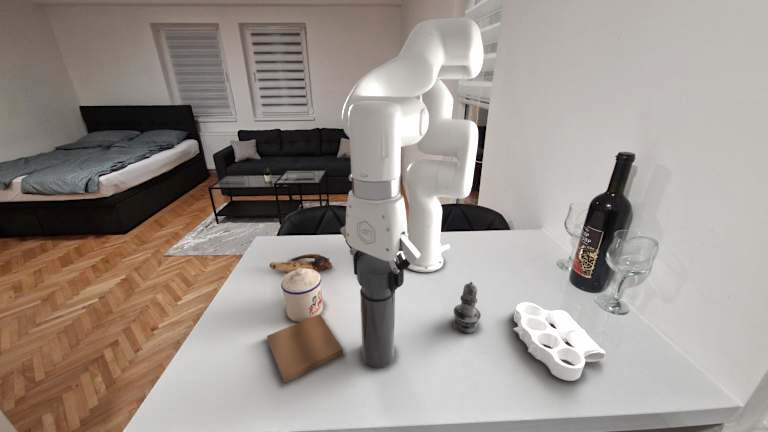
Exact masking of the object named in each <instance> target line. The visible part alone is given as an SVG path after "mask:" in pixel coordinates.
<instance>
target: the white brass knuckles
mask: <svg viewBox="0 0 768 432" xmlns="http://www.w3.org/2000/svg"><path fill="white" fill-rule="evenodd" d="M513 321H514V322H515V323H516V324H517V327H514V328H512V331H514V332H516V333H517V334H518V337H519V339H520V340H521V342H524V344H525V345H526V347H527V353H530V354H531V355H532V356H533V357H534V358H535V359H536V360H539V361H540V362H541V363H543V364H544V365H545V366H547V368H548V369H549V371H550V373H551V374H552V375H553V376H555V377H556V378H558V379H560V380H562V381H568V382H571V381H573V382H574V381H577V380H578V379H580V377H581V375H582V373H583V371H584V367H585V364H586V363H593V362H598V361H601V360H603V359H604V358H605V357H606V355H607V353H606V351H605V350H604V349H603V348H600V346H599V345H598V344H597V343H596V342H595V341H594V340H593V339H592V338H591V337H590V336H589V335H588V334H587V332H586V330H585V329H583V328H582V327H581V326H580V325H578V323H577V322H576V321H575V320H574V319H573V317H571V316H570V314H569V313H568V312H567V311H564V310H547V309H544V308H542V307H540V306H539V305H537V304H535V303H532V302H521V303H519V304H517V305H516V308H515V311H514V316H513ZM551 325H553V326H554V327H555V328H554V327H552V326H551ZM566 343H569V344H570V345H571V346H569V345H568V344H566ZM544 345H546V346H548V347H546V346H544ZM549 347H550V348H549ZM562 360H563V361H567V362H569V363H570V364H572V365H570V364H567V363H565V362H563V361H562Z"/></svg>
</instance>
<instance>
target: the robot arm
mask: <svg viewBox="0 0 768 432" xmlns="http://www.w3.org/2000/svg"><path fill="white" fill-rule="evenodd" d="M481 33H482V32H481V30H480V27H479V25H478V23H476V21H475V20H473V19H472V18H470V17H464V16H463V17H453V18H451V17H449V18H435V19H434V18H433V19H427V20H423V21H421V22H419V23H418V24H416V25H415V26H414V27H413V28H412V29H411V31H410V33H409V35H408V37H407V38H406V41H405V42H404V44H403V46H402V48H401V50H400V52H399V54H398V55H397V56H396V57H394V58H392V59H390V60H388V61H386V62H384V63H382V64H381V65H379V66H377V67H375V68H373V69H372V70H370V71H368V72H367V73H365V74H364V75H362V77H361V78H360V79H358V81H357V82H356V83H355V85H354V87H353V88H352V90H351V91H350V92H349V94H348V96H347V98H346V100H345V102H344V105H343V108H342V113H341V125H342V129H343V131H344V133H345V135H346V136H347V138H349V152H350V154H349V155H350V174H349V175H348V181H350V182H351V190H349V192H348V196H347V199H346V200H347V201H346V209H345V225H344V226H342V227H341V228H340V233H341V235H342V237H343V238H344V242H345V244H346V245H347V246H348V248H349V249H350V250H349V254H350V255H351V256H352V258H353V260H352V262H353V274H354V275H355V276H357V261H358V259H359V258H360V257H361V256H362V255H364V254H366V253H367V254H369V255H371V256H374V257H376V258H379V259H381V260H384V261H388V262H389V264H390V266H391V269H392V270H391V271H390V272H389V290H390V291H391V292H394V291H395V292H396V290H397V289H398V288H401V287H402V286H403V284H404V280H405V273H404V272H405V269H409V270H411V271H413V272H417V273H432V272H436V271H438V270H440V269H441V268H442V267H443V265H444V257H443V255H442V254H443V253H444V252H446V251H449V250H450V249H451V246H450V243H445V244H442V243H441V232H442V231H441V230H442V220H443V206H442V204H441V202H440V200H439V199H438V197H440V198H450V199H457V200H462V199H465V198H467V197H468V196H469V195H470V193H471V191H472V187H473V180H474V173H475V167H476V166H475V165H476V159H477V158H476V157H477V151H478V143H479V129H478V125H477V124H476V123H475V122H474V121H473V120H470V119H465V118H464V119H463V118H462V119H460V118H452V117H453V115H452V114H453V108H454V107H453V106H454V98H453V95H452V93H451V91H450V90H449V88H448V87H447V85H446V84H444V82H443V81H442V80H472V79H475V78H476V77H477V76H478V75H479V74H480V72H481V70H482V68H483V64H484V57H485V56H484V55H485V54H484V44H483V40H482V34H481ZM417 96H419V98H420V99H418V98H416V97H417ZM415 144H416V147H417V150H418V151H419V152H420V153H422V154H424V155H431V156H444V157H454V158H456V160H457V161H447V160H438V159H423V158H422V159H417V160H414V161H412V162H411V163H410V164H409V165H408V166H407V170H406V185H407V191H408V192H407V193H408V219H407V209H406V204H405V198H404V196H403V194H401V173H402V171H401V169H402V168H401V167H402V166H401V165H402V163H401V162H402V147H409V146H413V145H415ZM395 258H397V260H398V263H397V262H396V259H395Z"/></svg>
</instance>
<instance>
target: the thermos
mask: <svg viewBox="0 0 768 432" xmlns="http://www.w3.org/2000/svg"><path fill="white" fill-rule="evenodd" d="M359 298H360V323H361V325H360V326H361V349H362V359H363V361H364V363H365V364H366V365H367V366H369V367H371V368H375V369H380V368H382V369H383V368H385V367H387V366H389V365H390V364H391V363H392V362H393V360H394V358H395V325H396V324H395V320H396V319H395V318H396V290H395V291H394V292H391V291H390V290H386V291H380V292H375V291H369V290H366V289H364V288H363V287H361V286H360V290H359Z"/></svg>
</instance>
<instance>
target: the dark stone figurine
mask: <svg viewBox="0 0 768 432" xmlns="http://www.w3.org/2000/svg"><path fill="white" fill-rule="evenodd" d="M462 290H463V291H462V294H461V295H460V300H461V303H460V304H457V305H456V306H455V307H454V308H453V315H454V320H453V327H454V328H455V330H457V331H458V332H460V333H462V334H468V335H469V334H474V333H475V332H476V331H477V330H478V324H477V323H478V322H479V320H480V319H481V317H482V316H481V312H480V310H479V309H478V308H477V307H476V304H477V303H478V298H477V294H478V288H477V286H476V285H475V284H474V283H473V282H472V281H470V282H469V283H466V284H464V286H463V289H462Z"/></svg>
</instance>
